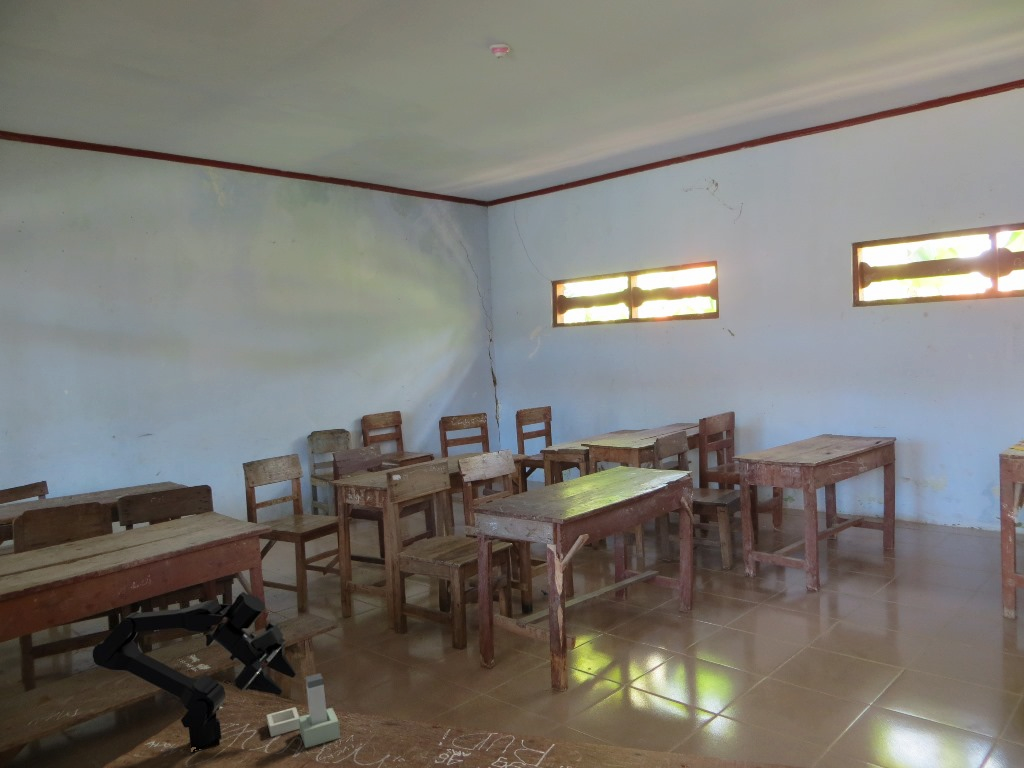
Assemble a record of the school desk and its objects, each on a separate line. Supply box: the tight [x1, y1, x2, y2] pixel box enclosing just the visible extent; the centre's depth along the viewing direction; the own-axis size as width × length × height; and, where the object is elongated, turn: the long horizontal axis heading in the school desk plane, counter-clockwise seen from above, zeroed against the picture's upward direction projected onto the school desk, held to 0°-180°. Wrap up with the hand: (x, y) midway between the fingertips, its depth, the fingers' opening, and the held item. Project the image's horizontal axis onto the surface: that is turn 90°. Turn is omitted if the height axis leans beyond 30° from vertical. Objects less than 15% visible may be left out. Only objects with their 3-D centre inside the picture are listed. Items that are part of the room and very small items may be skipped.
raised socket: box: [299, 707, 341, 749], centre depth 176 cm, size 8×8×4 cm
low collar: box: [266, 706, 300, 738], centre depth 182 cm, size 7×7×2 cm
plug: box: [305, 672, 327, 726], centre depth 175 cm, size 4×4×12 cm
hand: (288, 684), depth 176 cm, fingers open, 9 cm apart
